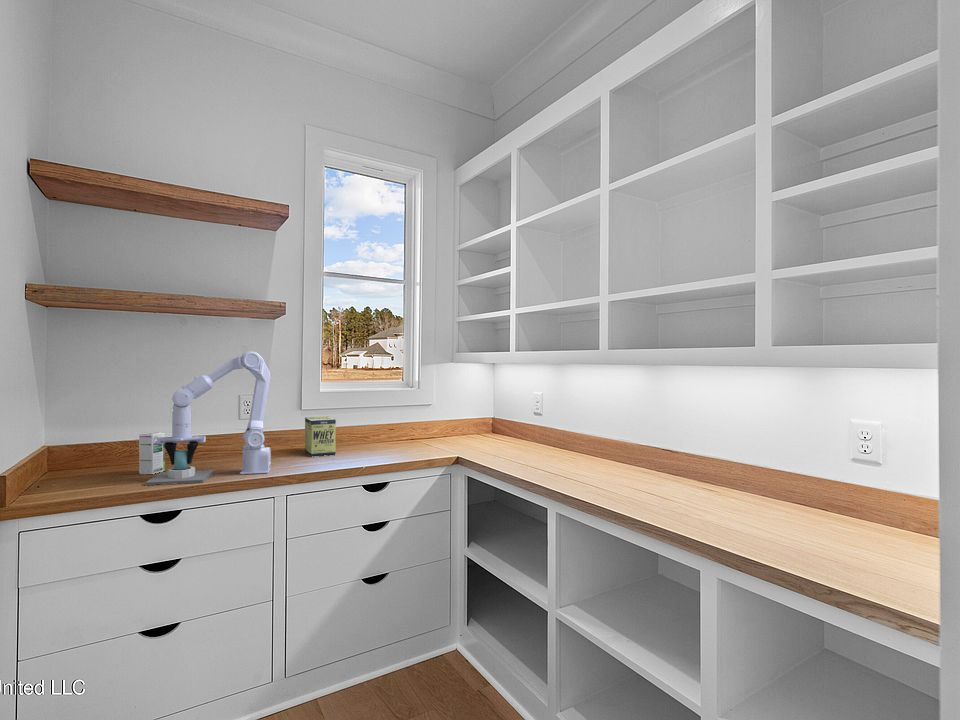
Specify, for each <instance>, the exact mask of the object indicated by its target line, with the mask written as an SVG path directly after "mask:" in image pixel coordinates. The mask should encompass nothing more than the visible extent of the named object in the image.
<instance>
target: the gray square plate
mask: <svg viewBox="0 0 960 720" xmlns="http://www.w3.org/2000/svg"><path fill="white" fill-rule="evenodd" d="M214 473H215V469H209V470H207V469H204V470H196V467H195V466H189V469H187V470H174V467H171V468H168V469H167V471H165V472H160V473H157V474H155V475H154V476H153V477H151V478H150V479H149V480H147V481H145V482H144V486H145V485H149V486H157V485H156V484H168V485H174V484H173V483H188V484H200V483H199V482H203V483H205V482H206V481H207V480H208V479H209V478H210V477H211V476H212V475H213V474H214ZM209 476H210V477H209ZM208 477H209V478H208ZM207 478H208V479H207Z"/></svg>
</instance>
